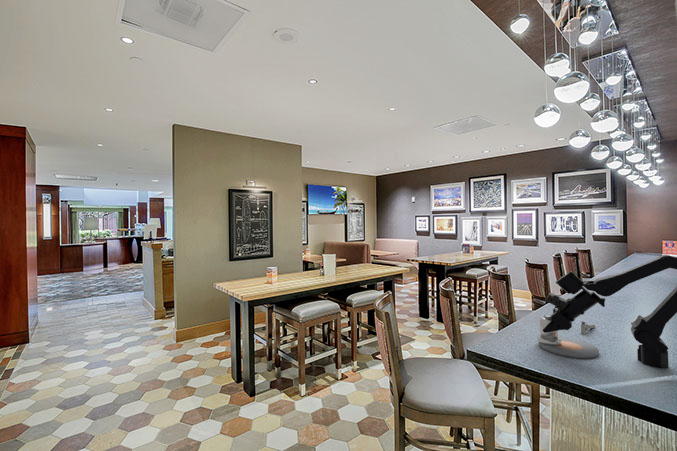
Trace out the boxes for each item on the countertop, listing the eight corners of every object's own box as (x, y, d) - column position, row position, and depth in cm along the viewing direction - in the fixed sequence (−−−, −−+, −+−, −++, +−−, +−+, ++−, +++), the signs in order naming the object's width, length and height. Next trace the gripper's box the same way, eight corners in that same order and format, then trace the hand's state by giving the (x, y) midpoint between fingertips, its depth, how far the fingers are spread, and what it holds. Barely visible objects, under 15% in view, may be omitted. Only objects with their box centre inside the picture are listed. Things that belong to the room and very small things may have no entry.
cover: (566, 345, 116) (565, 318, 116) (548, 346, 115) (548, 319, 115) (549, 338, 124) (548, 313, 124) (532, 339, 122) (531, 314, 123)
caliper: (584, 337, 131) (583, 322, 131) (581, 337, 132) (580, 322, 132) (595, 327, 144) (594, 313, 144) (592, 326, 145) (591, 313, 145)
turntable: (612, 355, 109) (612, 352, 109) (568, 360, 106) (568, 357, 106) (566, 338, 127) (566, 335, 127) (527, 342, 123) (527, 339, 123)
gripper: (561, 283, 125) (529, 307, 131) (558, 290, 110) (523, 317, 116) (586, 305, 120) (552, 329, 126) (588, 316, 105) (549, 342, 112)
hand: (544, 328), depth 120 cm, fingers open, 7 cm apart
